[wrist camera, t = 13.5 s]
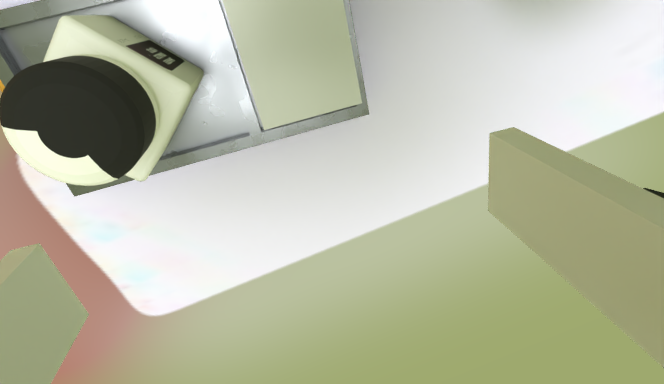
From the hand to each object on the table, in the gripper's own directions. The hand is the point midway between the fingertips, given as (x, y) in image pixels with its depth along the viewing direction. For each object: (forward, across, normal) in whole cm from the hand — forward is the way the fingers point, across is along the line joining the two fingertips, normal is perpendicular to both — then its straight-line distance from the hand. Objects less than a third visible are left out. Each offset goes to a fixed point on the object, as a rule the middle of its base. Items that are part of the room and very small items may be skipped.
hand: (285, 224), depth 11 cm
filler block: (+23, +2, +2) cm, 24 cm away
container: (+23, -10, +2) cm, 26 cm away
